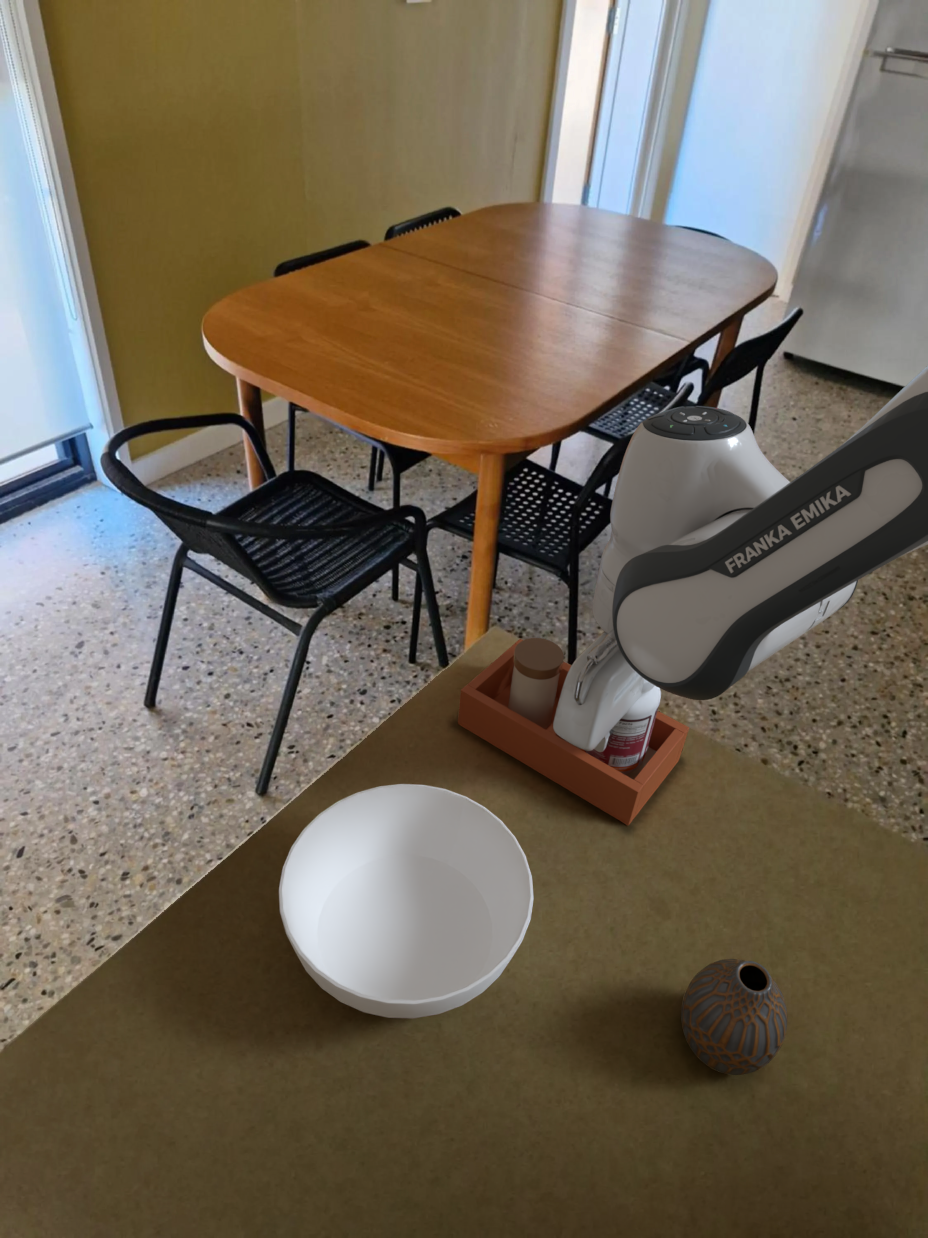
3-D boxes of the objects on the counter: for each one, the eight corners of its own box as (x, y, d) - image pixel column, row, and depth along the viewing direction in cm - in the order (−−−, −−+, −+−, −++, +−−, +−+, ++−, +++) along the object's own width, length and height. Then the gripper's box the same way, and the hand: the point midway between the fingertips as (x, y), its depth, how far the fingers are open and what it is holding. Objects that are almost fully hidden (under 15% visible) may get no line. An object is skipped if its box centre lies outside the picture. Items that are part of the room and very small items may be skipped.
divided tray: (515, 671, 93) (520, 638, 90) (678, 761, 85) (689, 727, 82) (457, 724, 86) (460, 689, 84) (628, 826, 78) (638, 792, 75)
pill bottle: (601, 718, 86) (621, 630, 79) (656, 751, 83) (682, 663, 76) (564, 752, 82) (581, 664, 75) (620, 789, 79) (644, 700, 72)
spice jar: (549, 700, 89) (561, 638, 84) (554, 733, 85) (566, 671, 80) (504, 699, 89) (512, 636, 84) (507, 732, 85) (516, 669, 80)
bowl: (233, 978, 65) (223, 923, 60) (368, 807, 78) (368, 751, 73) (453, 1107, 59) (460, 1057, 54) (559, 899, 72) (572, 844, 67)
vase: (780, 1026, 65) (818, 962, 59) (753, 1110, 60) (792, 1050, 55) (690, 978, 67) (719, 912, 62) (658, 1055, 63) (686, 992, 57)
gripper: (620, 684, 63) (590, 809, 72) (736, 560, 76) (699, 678, 85) (546, 645, 66) (525, 770, 74) (670, 532, 79) (641, 649, 88)
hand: (619, 720), depth 80 cm, fingers closed on pill bottle, 6 cm apart
